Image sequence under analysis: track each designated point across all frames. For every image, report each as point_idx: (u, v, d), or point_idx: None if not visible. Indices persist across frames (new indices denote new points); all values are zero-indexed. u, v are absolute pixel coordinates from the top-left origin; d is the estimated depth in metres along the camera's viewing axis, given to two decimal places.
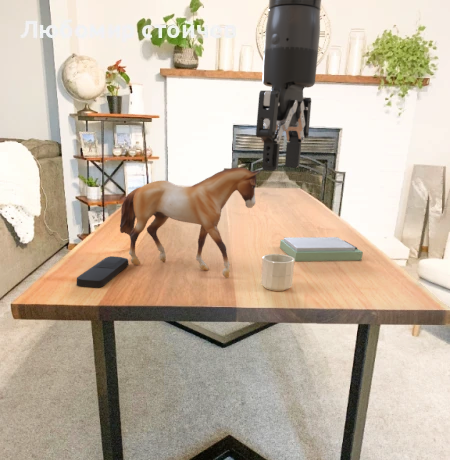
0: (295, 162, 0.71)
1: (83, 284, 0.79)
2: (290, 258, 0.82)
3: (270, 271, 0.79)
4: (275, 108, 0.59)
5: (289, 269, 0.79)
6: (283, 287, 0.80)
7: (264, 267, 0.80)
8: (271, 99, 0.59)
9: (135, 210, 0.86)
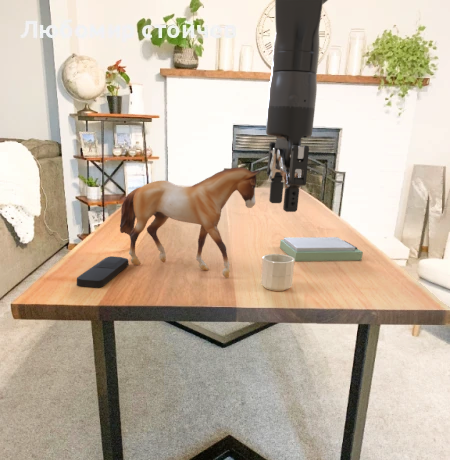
0: (279, 198, 0.80)
1: (83, 284, 0.79)
2: (290, 258, 0.82)
3: (270, 271, 0.79)
4: (307, 160, 0.68)
5: (289, 269, 0.79)
6: (283, 287, 0.80)
7: (264, 267, 0.80)
8: (305, 153, 0.67)
9: (135, 210, 0.86)
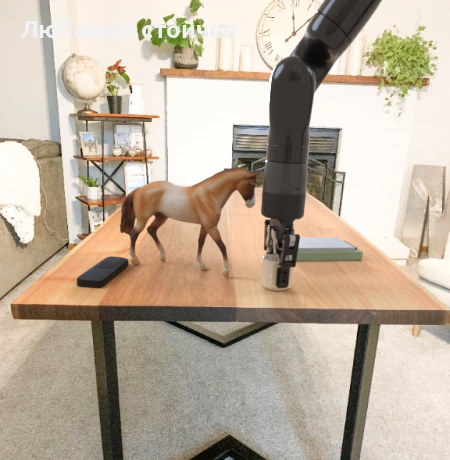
0: None
1: (83, 284, 0.79)
2: None
3: (270, 271, 0.79)
4: (297, 247, 0.74)
5: None
6: None
7: (264, 267, 0.80)
8: (296, 242, 0.73)
9: (135, 210, 0.86)
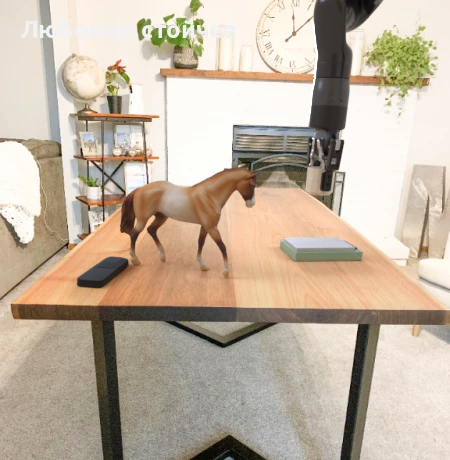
0: None
1: (84, 284, 0.79)
2: None
3: (315, 177, 0.92)
4: (341, 151, 0.87)
5: None
6: (326, 191, 0.93)
7: (310, 174, 0.93)
8: (340, 146, 0.86)
9: (135, 210, 0.86)
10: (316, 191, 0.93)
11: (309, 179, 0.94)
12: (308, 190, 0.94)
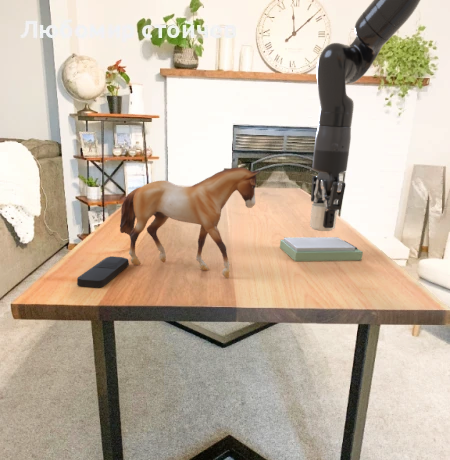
0: None
1: (84, 284, 0.79)
2: None
3: (319, 215, 1.00)
4: (343, 193, 0.95)
5: None
6: (329, 228, 1.01)
7: (313, 212, 1.01)
8: (342, 188, 0.94)
9: (135, 210, 0.86)
10: (319, 227, 1.01)
11: (313, 216, 1.01)
12: (312, 226, 1.02)
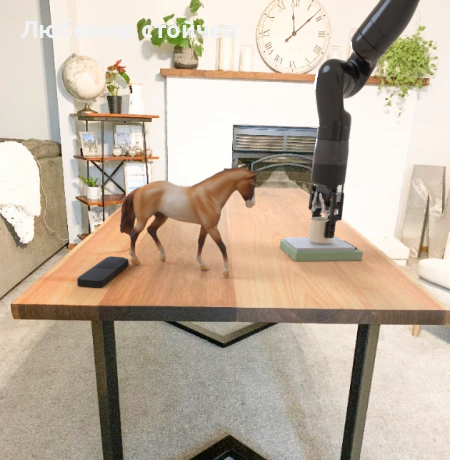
0: None
1: (84, 284, 0.79)
2: None
3: (317, 228, 1.01)
4: (342, 203, 0.95)
5: None
6: (327, 241, 1.02)
7: (312, 226, 1.02)
8: (341, 198, 0.94)
9: (135, 210, 0.86)
10: (318, 241, 1.02)
11: (311, 230, 1.02)
12: (311, 239, 1.03)
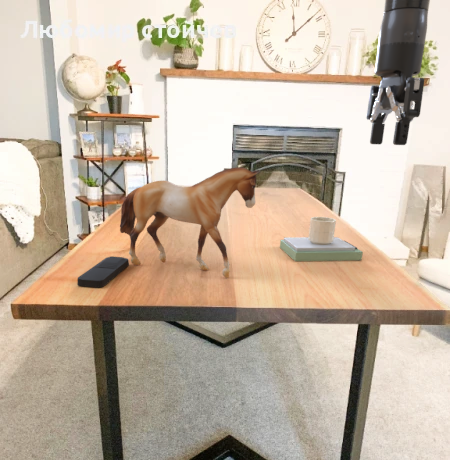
0: (380, 139, 0.85)
1: (84, 284, 0.79)
2: (332, 219, 1.04)
3: (317, 228, 1.01)
4: (421, 92, 0.73)
5: (332, 227, 1.01)
6: (327, 241, 1.02)
7: (312, 226, 1.02)
8: (420, 85, 0.72)
9: (135, 210, 0.86)
10: (318, 241, 1.02)
11: (311, 230, 1.02)
12: (311, 239, 1.03)
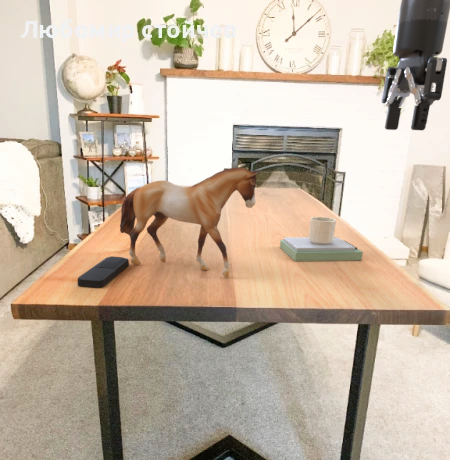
0: (396, 125, 0.80)
1: (84, 284, 0.79)
2: (332, 219, 1.04)
3: (317, 228, 1.01)
4: (443, 73, 0.68)
5: (332, 227, 1.01)
6: (327, 241, 1.02)
7: (312, 226, 1.02)
8: (443, 65, 0.67)
9: (135, 210, 0.86)
10: (318, 241, 1.02)
11: (311, 230, 1.02)
12: (311, 239, 1.03)
